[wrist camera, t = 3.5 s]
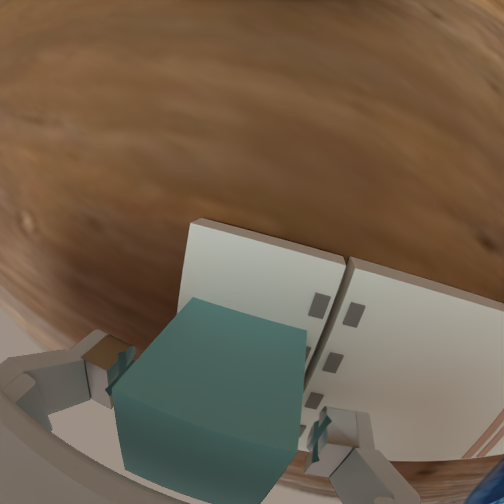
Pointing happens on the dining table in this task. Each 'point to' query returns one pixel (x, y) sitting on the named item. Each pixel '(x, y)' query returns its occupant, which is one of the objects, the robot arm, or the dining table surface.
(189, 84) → the dining table surface
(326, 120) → the dining table surface
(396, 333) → the ticket
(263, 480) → the stub
